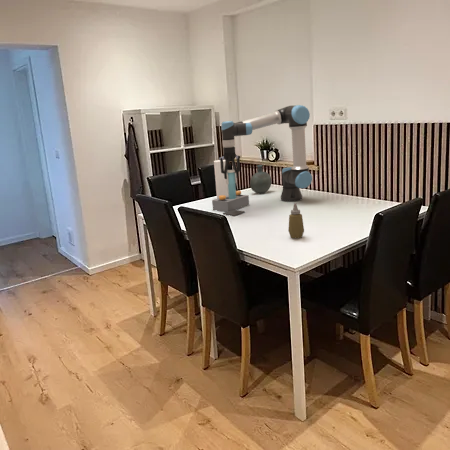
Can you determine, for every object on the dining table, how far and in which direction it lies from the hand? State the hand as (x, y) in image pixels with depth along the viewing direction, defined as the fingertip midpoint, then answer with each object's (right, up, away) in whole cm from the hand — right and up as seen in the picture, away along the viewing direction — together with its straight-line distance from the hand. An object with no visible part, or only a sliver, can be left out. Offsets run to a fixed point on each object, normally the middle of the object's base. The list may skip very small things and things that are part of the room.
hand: (231, 183), depth 281 cm
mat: (+2, -19, +5) cm, 20 cm away
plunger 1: (-5, -16, +17) cm, 23 cm away
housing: (0, -15, +22) cm, 27 cm away
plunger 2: (+5, -12, +28) cm, 31 cm away
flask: (+24, -2, +62) cm, 67 cm away
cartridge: (+1, -9, +3) cm, 10 cm away
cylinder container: (-5, -8, +48) cm, 49 cm away
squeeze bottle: (+33, -33, -54) cm, 71 cm away
